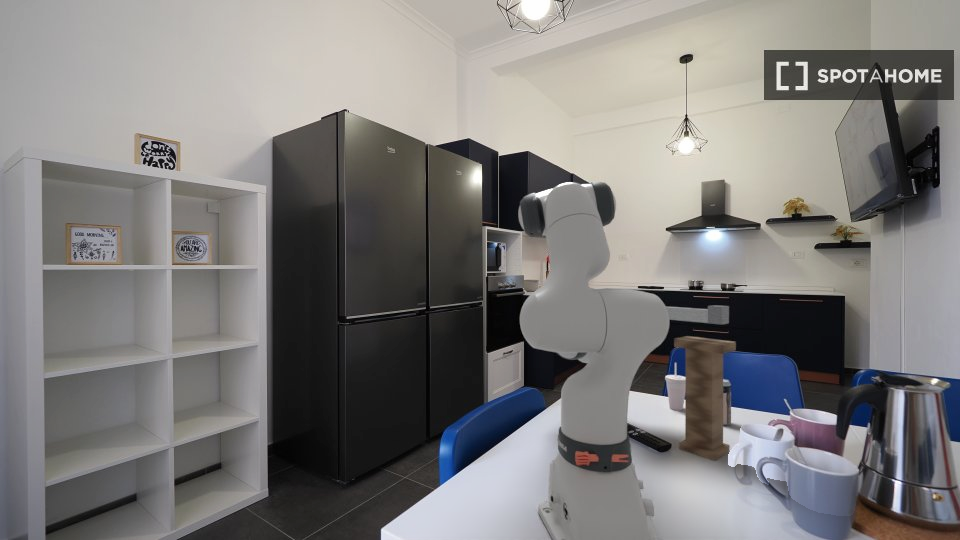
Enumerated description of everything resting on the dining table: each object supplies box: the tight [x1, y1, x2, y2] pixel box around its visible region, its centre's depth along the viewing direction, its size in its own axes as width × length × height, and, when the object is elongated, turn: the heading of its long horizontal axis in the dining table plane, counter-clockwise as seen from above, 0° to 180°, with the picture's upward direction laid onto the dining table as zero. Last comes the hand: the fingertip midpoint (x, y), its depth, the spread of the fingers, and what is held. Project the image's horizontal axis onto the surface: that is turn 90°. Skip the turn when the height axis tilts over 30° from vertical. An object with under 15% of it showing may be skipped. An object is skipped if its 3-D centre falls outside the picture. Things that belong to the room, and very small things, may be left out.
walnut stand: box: [673, 335, 737, 462], centre depth 97 cm, size 11×8×26 cm
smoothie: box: [664, 362, 686, 412], centre depth 127 cm, size 6×6×14 cm
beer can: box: [723, 378, 732, 426], centre depth 115 cm, size 5×5×12 cm
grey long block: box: [665, 304, 730, 325], centre depth 101 cm, size 18×4×4 cm, turn 39°
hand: (662, 310), depth 105 cm, fingers closed on grey long block, 3 cm apart
